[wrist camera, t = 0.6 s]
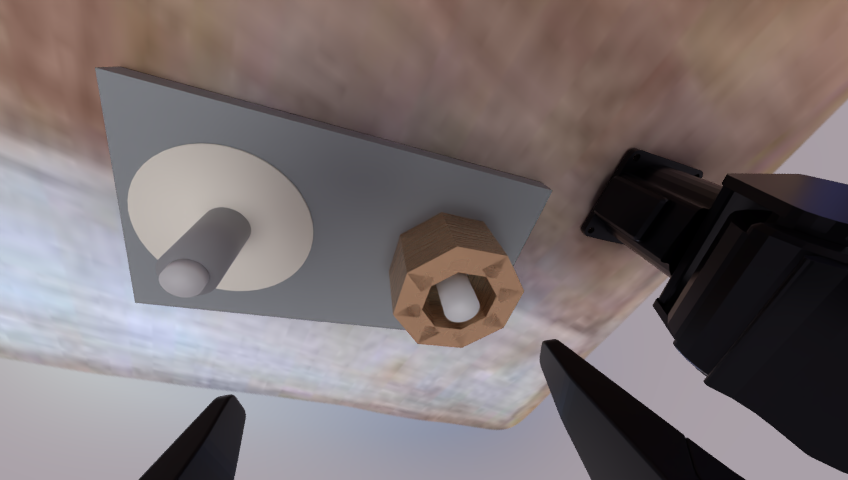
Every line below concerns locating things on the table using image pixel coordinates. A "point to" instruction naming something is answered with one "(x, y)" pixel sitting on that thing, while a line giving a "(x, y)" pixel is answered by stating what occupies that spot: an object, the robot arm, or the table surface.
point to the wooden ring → (438, 260)
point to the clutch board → (284, 205)
